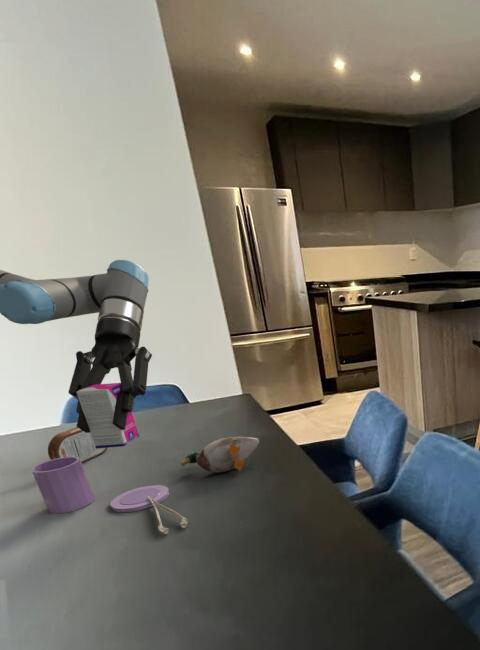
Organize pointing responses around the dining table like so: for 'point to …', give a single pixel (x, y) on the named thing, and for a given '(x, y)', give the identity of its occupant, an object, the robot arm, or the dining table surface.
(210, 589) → the dining table surface
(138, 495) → the saucer
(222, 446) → the decorative duck model
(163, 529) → the beige thin v-shaped piece
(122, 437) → the supplement box
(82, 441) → the tin
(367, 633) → the dining table surface
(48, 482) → the lilac cup
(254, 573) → the dining table surface
